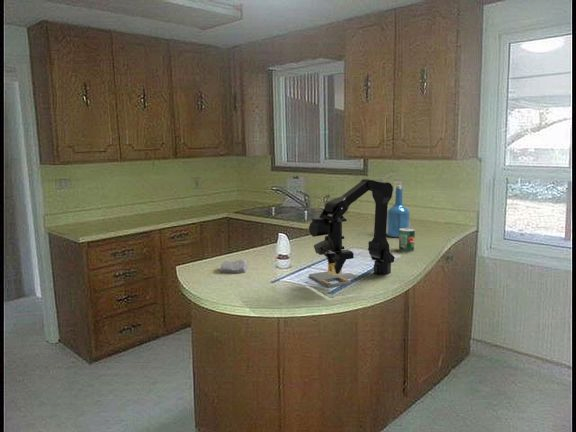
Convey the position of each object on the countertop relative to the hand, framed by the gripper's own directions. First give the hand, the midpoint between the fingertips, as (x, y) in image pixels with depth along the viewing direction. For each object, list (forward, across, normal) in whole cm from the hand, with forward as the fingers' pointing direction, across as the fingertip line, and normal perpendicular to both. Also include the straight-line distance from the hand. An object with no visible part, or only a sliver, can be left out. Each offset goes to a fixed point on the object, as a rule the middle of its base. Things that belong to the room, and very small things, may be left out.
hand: (334, 272), depth 186 cm
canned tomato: (+6, -35, +63) cm, 72 cm away
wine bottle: (+6, -67, +82) cm, 106 cm away
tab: (+6, -6, +10) cm, 13 cm away
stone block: (+6, -40, -29) cm, 50 cm away
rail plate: (+6, -4, 0) cm, 7 cm away
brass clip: (+1, 0, 0) cm, 1 cm away
